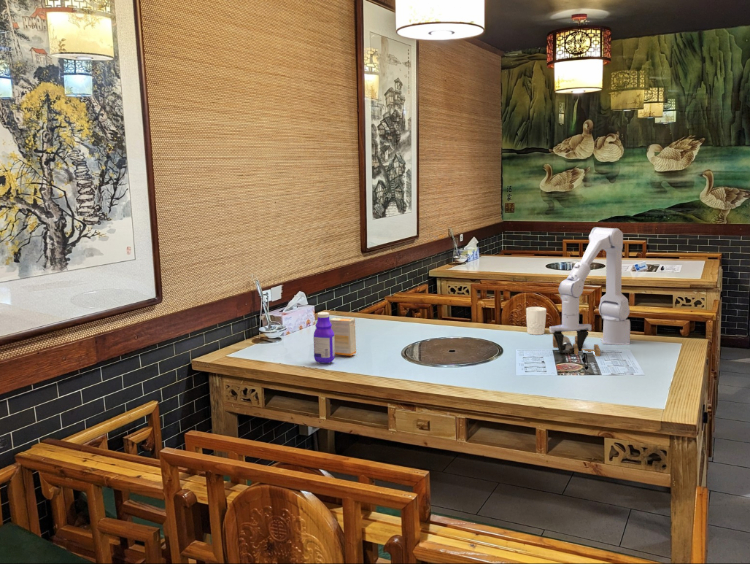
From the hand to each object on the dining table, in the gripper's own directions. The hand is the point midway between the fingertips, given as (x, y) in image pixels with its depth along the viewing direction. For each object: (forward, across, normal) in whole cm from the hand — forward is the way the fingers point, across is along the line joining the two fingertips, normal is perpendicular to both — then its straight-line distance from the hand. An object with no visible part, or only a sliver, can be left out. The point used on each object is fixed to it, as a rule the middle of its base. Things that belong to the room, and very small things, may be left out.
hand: (570, 351), depth 238 cm
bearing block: (+1, -3, -11) cm, 11 cm away
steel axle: (+1, -1, -5) cm, 6 cm away
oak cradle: (+1, -6, +1) cm, 6 cm away
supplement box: (0, +80, -15) cm, 81 cm away
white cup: (+2, +2, -33) cm, 33 cm away
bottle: (0, +87, -6) cm, 87 cm away
